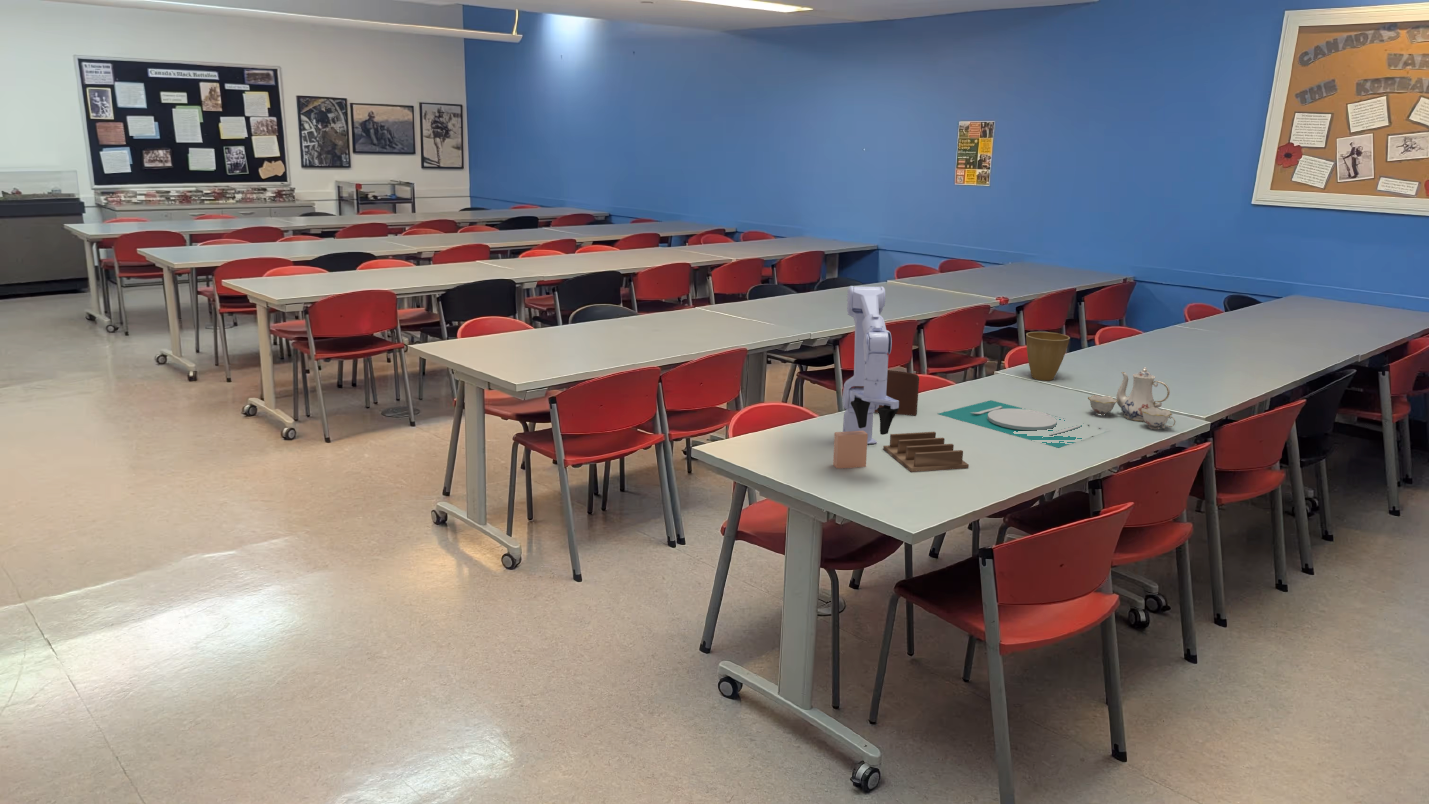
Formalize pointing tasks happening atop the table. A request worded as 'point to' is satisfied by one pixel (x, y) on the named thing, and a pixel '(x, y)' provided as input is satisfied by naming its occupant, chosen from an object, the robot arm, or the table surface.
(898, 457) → the dish rack
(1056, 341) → the plant pot
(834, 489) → the table surface
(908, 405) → the letter holder
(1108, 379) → the table surface
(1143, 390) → the chinaware
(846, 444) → the orange-brown angular block
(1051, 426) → the place mat
